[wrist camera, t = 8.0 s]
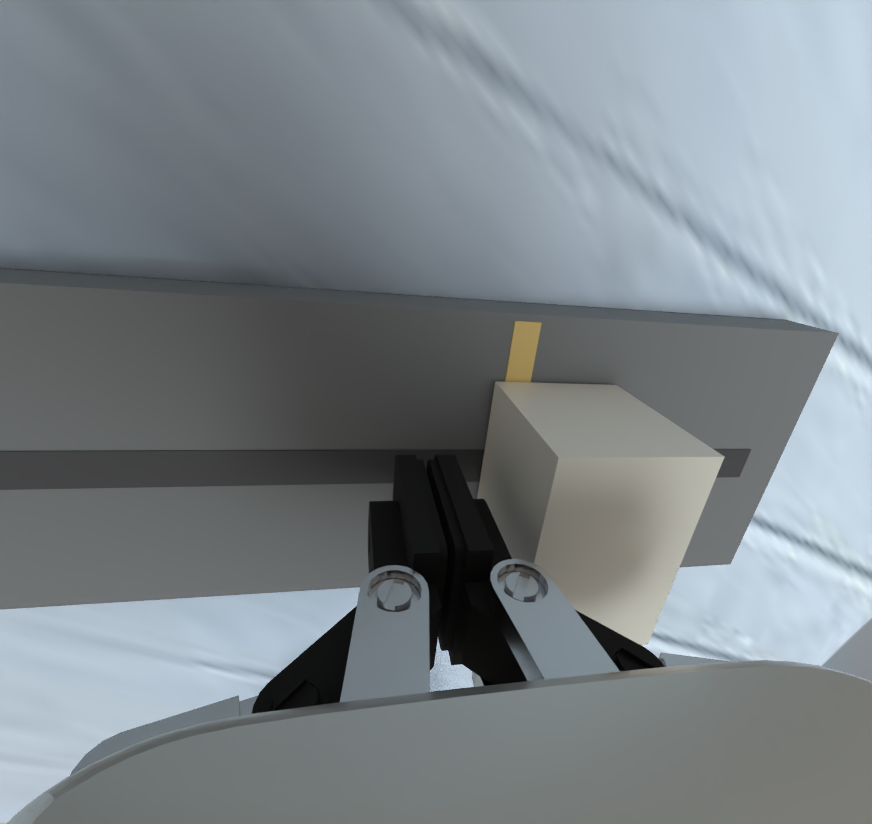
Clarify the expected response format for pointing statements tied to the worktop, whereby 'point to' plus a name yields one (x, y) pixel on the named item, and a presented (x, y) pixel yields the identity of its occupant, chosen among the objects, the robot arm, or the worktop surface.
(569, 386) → the fader knob
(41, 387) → the fader track
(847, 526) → the worktop surface
